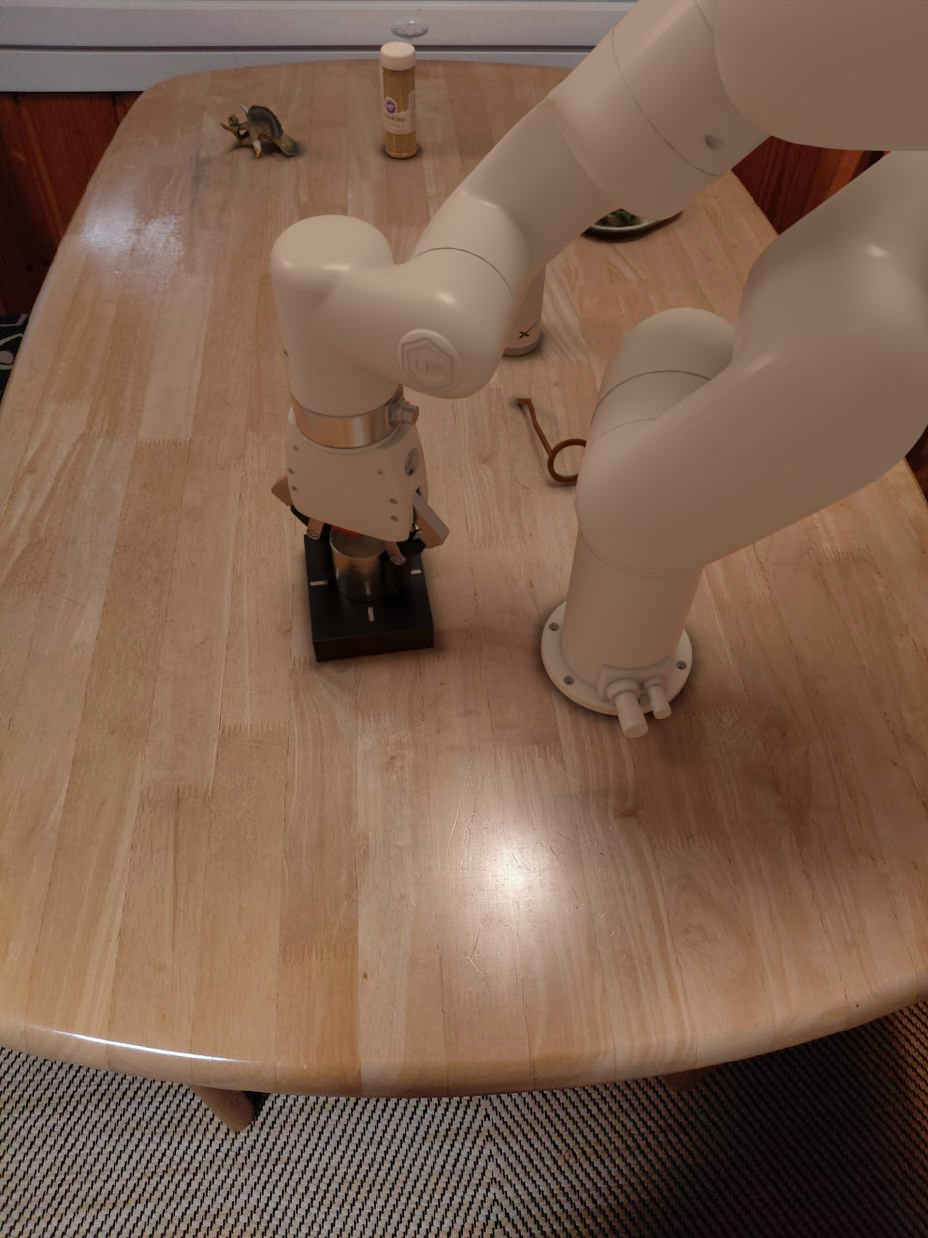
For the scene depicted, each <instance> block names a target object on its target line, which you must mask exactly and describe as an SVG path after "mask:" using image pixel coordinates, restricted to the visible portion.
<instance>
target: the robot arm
mask: <svg viewBox="0 0 928 1238" xmlns="http://www.w3.org/2000/svg"><path fill="white" fill-rule="evenodd" d="M771 136H772V137H775V138H777V139H780V140H783V141H785V142H788V143H792V144H797V145H803V146H810V147H816V148H823V149H831V150H846V151H874V152H875V151H878V152H888V153H887V154H885V155H884V156H883V157H881V158H880V159H879V160H877V161H876V162H875V163H873V164H872V165H871V166H870V167H868V168H867V169H866V170H864V171H863V172H862V173H860V174H859V175H858V176H856V177H855V178H854V179H852V180H851V181H850V182H849V183H847V184H846V185H844V186H843V187H841V188H840V189H839V190H837V192H835V193H834V194H833V195H831V196H829V198H827V199H826V200H824V201H823V202H822V203H821V204H818V206H817V207H815V208H814V209H812V210H811V211H809V212H808V213H807V214H805V215H804V216H802V218H800V219H799V220H797V221H796V222H795V223H794V224H792V225H791V226H789V227H788V228H787V229H785V230H784V231H783V232H782V233H780V234H779V235H778V236H777V237H775V238H774V239H773V240H772V241H771V242H770V243H769V244H768V245H767V246H766V247H765V248H764V249H763V250H762V251H761V253H760V254H759V255H758V257H756V259H755V260H754V262H753V263H752V265H751V267H750V269H749V272H748V274H747V277H746V280H745V283H744V285H743V289H742V291H741V292H742V293H741V297H740V302H739V306H738V307H739V308H738V312H737V320H736V325H734V324H733V323H731V322H730V321H728V320H727V319H726V318H725V317H723V316H721V315H718V314H717V313H715V312H712V311H710V310H707V309H703V308H698V307H675V308H670V309H669V308H668V309H666V310H665V309H664V310H662V311H659V312H657V313H655V314H652V315H650V316H648V317H647V318H645V319H643V320H642V321H640V322H638V323H637V324H636V325H635V326H634V327H633V328H631V329H630V330H629V331H628V332H627V333H626V334H625V336H624V337H623V338H622V339H621V341H620V342H619V343H618V344H617V346H616V347H615V348H614V350H613V352H612V354H611V355H610V358H609V360H608V362H607V365H606V368H605V370H604V372H603V377H602V381H601V382H600V387H599V389H598V394H597V398H596V402H595V405H594V410H593V414H592V417H591V421H590V425H589V426H590V427H589V432H588V436H587V439H586V441H587V442H586V446H585V447H584V450H583V454H582V458H581V460H580V465H579V470H578V473H577V474H578V479H577V481H576V486H575V492H574V493H575V495H574V505H575V506H574V507H575V515H576V519H577V523H578V527H577V533H576V541H575V547H574V553H573V558H572V564H571V572H570V577H569V583H568V589H567V596H566V600H564V601H562V603H560V604H559V605H558V606H557V607H555V609H554V610H553V611H552V612H551V614H550V615H549V617H548V618H547V620H546V623H545V624H544V625H543V631H542V635H541V641H540V642H541V644H540V653H541V661H542V663H543V666H544V669H545V672H546V674H547V675H548V677H549V678H550V680H551V682H552V683H553V685H554V686H555V687H556V688H557V689H558V690H559V691H560V692H561V693H562V694H563V695H564V696H566V697H567V698H569V700H571V701H572V702H574V703H575V704H578V705H579V706H582V707H584V708H586V709H587V710H591V711H593V712H597V713H600V714H604V715H609V716H617V717H618V721H619V724H620V727H621V730H622V734H623V736H624V737H625V738H627V739H636V738H639V737H642V736H645V734H647V733H648V732H649V727H648V722H647V720H646V718H645V715H644V714H648V713H650V712H652V714H653V717H654V718H655V719H657V720H663V719H666V718H668V717H669V716H671V715H672V709H671V706H670V704H669V703H670V702H671V701H672V700H673V699H674V698H675V697H677V696H678V695H679V693H680V692H681V691H682V689H683V687H684V686H685V684H686V683H687V680H688V678H689V675H690V673H691V668H692V664H693V648H692V644H691V640H690V637H689V634H688V633H687V631H686V629H685V625H686V623H687V620H688V617H689V614H690V611H691V608H692V605H693V603H694V599H695V596H696V593H697V590H698V587H699V584H700V581H701V578H702V575H703V572H704V569H705V566H707V565H709V564H712V563H715V562H718V561H719V560H722V559H724V558H727V557H728V556H732V554H735V553H737V552H740V551H742V550H743V549H746V548H748V547H750V546H751V545H754V544H755V543H758V542H760V541H762V540H764V539H765V538H769V536H772V535H774V534H776V533H779V532H780V531H782V530H784V529H786V528H788V527H790V526H792V525H794V524H797V523H798V522H801V521H802V520H804V519H807V518H808V517H811V516H812V515H814V514H817V513H819V512H821V511H822V510H825V509H826V508H828V507H830V506H833V505H834V504H836V503H839V502H841V501H843V500H845V499H847V498H849V497H850V496H852V495H853V494H856V493H857V492H859V491H861V490H863V489H865V488H867V487H869V486H870V485H871V484H873V483H874V482H876V481H878V480H879V479H880V478H881V477H883V476H884V475H885V474H887V473H888V472H889V471H891V470H892V469H893V468H894V467H895V466H896V465H897V464H899V462H900V461H901V460H902V459H904V457H905V456H907V454H908V453H909V452H910V451H911V450H912V449H913V448H914V446H915V445H916V444H917V442H918V441H919V439H920V438H921V437H922V435H923V434H924V432H925V430H926V428H927V427H928V0H637V1H636V3H635V4H634V5H633V6H632V7H631V8H630V10H628V11H627V12H626V14H625V15H624V16H623V17H622V18H621V19H620V21H618V22H617V23H616V24H615V25H614V26H613V27H612V28H611V29H610V30H609V31H608V33H607V34H606V35H605V36H604V37H603V38H602V39H601V40H600V41H599V42H598V43H597V45H596V46H595V47H594V48H593V49H592V50H591V51H590V52H589V53H588V54H587V55H586V57H584V58H583V60H582V61H580V62H579V64H578V65H577V66H576V67H575V68H574V69H573V70H572V71H571V72H570V73H569V74H568V75H567V76H566V77H565V78H564V79H563V80H562V81H561V82H559V84H557V85H555V86H554V87H553V88H552V89H551V90H550V91H549V93H547V94H546V96H545V97H544V98H543V99H542V100H541V101H540V102H538V104H537V105H535V106H533V108H532V109H531V110H530V111H528V112H527V113H526V114H525V115H524V116H523V117H522V118H521V119H520V120H519V121H518V122H517V123H516V124H514V126H513V127H512V128H511V129H510V130H508V132H506V134H505V135H503V137H502V138H501V139H500V140H499V141H498V142H497V143H496V144H495V145H494V146H493V148H491V150H490V151H489V152H488V153H487V154H486V155H485V156H484V157H483V158H482V159H481V160H480V162H479V163H478V164H477V165H476V166H475V167H473V170H472V171H471V172H469V174H468V175H466V177H465V178H464V179H463V181H461V182H460V184H459V185H458V186H457V187H456V188H455V189H454V191H453V192H451V194H450V195H449V196H448V197H447V198H446V200H445V201H444V202H443V203H442V204H441V206H440V207H439V208H438V210H437V211H436V212H435V213H434V214H433V216H432V218H431V219H430V220H429V222H428V224H427V226H426V227H425V229H424V230H423V232H422V233H421V236H420V237H419V239H418V241H417V242H416V244H415V246H414V248H413V249H412V252H411V254H410V256H409V257H408V259H407V261H405V262H403V263H400V264H397V263H395V258H394V253H393V250H392V247H391V245H390V243H389V240H388V239H387V237H386V236H385V235H384V233H382V232H381V230H380V229H379V228H377V227H376V226H375V225H373V224H371V223H370V222H367V221H365V220H363V219H361V218H358V217H356V216H350V215H343V214H322V215H314V216H311V217H307V218H304V219H301V220H299V221H297V222H294V223H293V224H292V225H290V226H288V227H287V228H285V229H284V230H283V231H282V232H280V234H279V235H278V236H277V238H276V239H275V241H274V243H273V245H272V248H271V249H270V250H271V251H270V254H269V256H270V257H269V272H270V279H271V284H272V285H271V286H272V291H273V297H274V303H275V311H276V316H277V322H278V327H279V328H278V329H279V333H280V339H281V346H282V351H283V359H284V363H285V369H286V375H287V380H288V387H289V392H290V399H291V407H290V408H289V411H288V415H287V421H286V431H285V466H286V467H285V468H286V472H284V473H283V474H282V475H281V476H280V477H278V479H277V480H276V481H275V482H274V484H273V485H272V486H271V488H270V492H271V493H272V494H273V495H274V496H275V497H276V498H277V499H278V500H279V501H280V502H282V503H283V504H284V505H285V506H287V507H289V509H290V512H291V513H292V514H293V515H294V516H295V517H296V518H297V519H298V520H299V521H300V522H301V523H302V524H303V525H304V526H305V527H306V530H305V532H306V533H305V534H307V535H308V536H309V537H311V538H312V539H315V545H316V551H317V556H319V559H320V565H321V571H322V573H325V574H329V573H331V572H332V571H333V569H334V566H333V560H332V553H331V546H330V540H329V534H330V530H331V528H332V525H334V526H338V527H341V528H344V529H347V530H351V531H354V532H357V533H361V534H364V535H367V536H371V537H375V538H378V539H381V540H382V543H383V545H384V547H385V549H386V551H387V554H388V557H387V559H386V560H385V563H384V570H385V582H386V591H388V593H389V594H392V595H395V593H396V592H397V590H398V588H399V586H400V584H401V583H407V581H408V580H409V578H410V576H411V572H412V557H413V556H415V555H417V554H420V553H421V554H422V553H423V552H424V551H425V550H427V549H428V550H430V549H433V548H435V547H439V546H442V545H444V543H445V542H446V540H447V538H448V536H449V535H450V532H451V531H450V528H449V527H448V526H447V525H446V524H445V523H444V522H443V520H442V519H441V518H440V517H439V515H437V513H436V512H435V511H434V510H433V508H431V506H430V505H429V485H428V476H427V475H428V474H427V467H426V460H425V455H424V449H423V445H422V440H421V437H420V436H421V435H420V433H419V430H418V427H417V422H418V419H419V415H420V407H419V406H418V405H416V404H411V403H410V401H408V400H406V398H405V397H404V396H405V395H404V387H405V388H407V389H410V390H412V391H414V392H416V393H417V392H418V393H420V394H422V395H426V396H429V397H433V398H436V399H442V400H443V399H444V400H459V399H460V400H461V399H465V398H468V397H472V396H473V395H475V394H477V393H479V392H480V391H481V390H482V389H484V388H485V387H486V386H487V385H488V383H489V382H491V379H492V378H493V377H494V375H495V373H496V372H497V370H498V367H499V365H500V363H501V360H502V357H503V356H504V355H503V352H504V350H505V347H506V345H507V342H508V339H509V337H510V334H511V332H512V329H513V325H514V322H515V320H516V318H517V315H518V313H519V310H520V308H521V305H522V302H523V300H524V297H525V295H526V293H527V290H528V288H529V285H530V283H531V282H532V281H533V279H534V278H535V277H536V276H537V275H538V274H539V272H540V271H541V270H542V269H543V268H544V267H545V266H546V267H547V266H548V265H549V264H550V263H551V262H552V261H553V260H554V259H555V258H557V256H559V254H560V253H562V252H563V251H564V250H565V249H566V248H567V247H568V246H570V245H571V244H572V243H573V242H574V241H575V240H576V239H577V238H579V236H581V235H582V234H583V232H584V231H585V230H587V229H588V228H589V227H590V226H592V225H593V224H594V223H596V222H597V221H598V220H600V219H601V218H603V217H605V216H606V215H608V214H609V213H611V212H613V211H616V210H618V209H621V208H622V209H624V210H625V211H627V212H629V213H631V214H633V215H635V216H638V217H640V218H643V219H646V220H663V219H665V220H667V219H670V218H673V217H674V216H675V215H677V214H679V213H681V212H682V211H683V210H685V209H686V208H687V207H688V206H690V205H691V204H692V203H693V202H694V201H695V200H697V198H699V197H700V196H701V195H702V194H703V193H704V192H706V191H707V190H708V189H709V188H711V187H712V186H713V185H714V184H715V183H716V182H718V181H719V180H720V179H722V177H724V176H726V174H727V173H728V172H730V170H732V169H733V168H735V166H737V165H738V164H740V162H741V161H743V160H745V158H746V157H747V156H749V155H750V154H751V153H752V152H753V151H754V150H756V149H757V148H758V147H759V146H760V145H762V144H763V143H764V142H765V141H766V140H768V139H769V138H770V137H771ZM412 522H414V523H415V526H416V527H417V528H416V530H415V531H414V530H413V527H412Z"/></svg>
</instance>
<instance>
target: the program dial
mask: <svg viewBox="0 0 928 1238" xmlns="http://www.w3.org/2000/svg"><path fill="white" fill-rule="evenodd" d="M329 540H330V546H331V553H332V560H333V566H334V573H335V580H336V585H337V587H338V589H339V591H340V592H341V593H342V594H343V595H344V596H346V597H347V598H349V599H352V600H355V601H360V602H369V601H374V600H378V599H380V598H382V597H384V596H386V595H387V594H388V591H386V582H385V570H384V563H385V560H386V559H387V557H388V554H387V551H386V549H385V547H384V545H383V543H382V540H381V539H378V538H375V537H371V536H367V535H364V534H361V533H357V532H354V531H351V530H347V529H344V528H341V527H338V526H334V525H332V528H331V530H330V534H329Z"/></svg>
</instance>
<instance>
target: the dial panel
mask: <svg viewBox="0 0 928 1238" xmlns="http://www.w3.org/2000/svg"><path fill="white" fill-rule="evenodd" d="M412 527H413V530H414V531H415V530H417V525H416V524H415V523H414V522H412ZM303 547H304V559H305V570H306V571H305V572H306V582H307V594H308V605H309V606H308V607H309V617H310V619H309V620H310V630H311V631H310V632H311V640H312V645H313V646H312V647H313V652H314V658H315V662H316V663H324V662H332V661H339V660H347V659H355V658H363V657H371V656H380V655H388V654H396V653H402V652H410V651H411V652H412V651H417V650H418V651H420V650H426V649H427V650H428V649H434V648H435V624H434V618H433V611H432V607H431V602H430V597H429V592H428V586H427V580H426V575H425V569H424V565H423V559H422V553H420V554H417V555H415V556H413V557H412V572H411V576H410V578H409V580H408V581H407V583H401V584H400V586H399V588H398V590H397V592H396V593H395V595H392V594H389V593H388V594H387V595H386V596H384V597H382V598H380V599H378V600H374V601H369V602H360V601H355V600H352V599H349V598H347V597H346V596H344V595H343V594H342V593H341V592H340V591H339V589H338V587H337V585H336V580H335V573H334V569H333V571H332V572H331V573H329V574H325V573H322V571H321V565H320V559H319V556H317V551H316V545H315V539H312V538H311V537H309V536H308V535H307V533H305V534H303Z"/></svg>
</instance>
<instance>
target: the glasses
mask: <svg viewBox="0 0 928 1238" xmlns="http://www.w3.org/2000/svg"><path fill="white" fill-rule="evenodd" d="M516 402H517V405H523V406H524V405H527V409H528V411H529V415H530V418H531V422H532V427H533V428H534V430H535V433H536V434H537V436H538V438H539V440H540V442H541V445H542V446H543V448H544V450H545V453H546V455H547V462H546V466H547V467H546V468H547V471H548V473H549V475H550V477H551V478H552V479H553V480H554V481H556V482H558V483H561V484H571V483H577V479H578V473H576V474H573V475H561V474H559V473H557V472H556V471H555V466H554V464H555V459H556V457H557V455H558V454H559V453H560V452H561V451H562V450H564V449H566V448H569V447H572V446H573V447H574V446H579V447H583V448H585V446H586V442H587V439H583V438H577V437H576V438H575V437H574V438H569V439H565V440H562V441H561V442H559V443H557V444H556V445H555V446H554V447H551V445H550V443H549V442H548V439H547V438H546V436H545V433H544V431H543V429H542V428H541V426H540V424H539V422H538V419H537V415H536V411H535V407H534V404H533V401H532V398H517V401H516Z"/></svg>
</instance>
